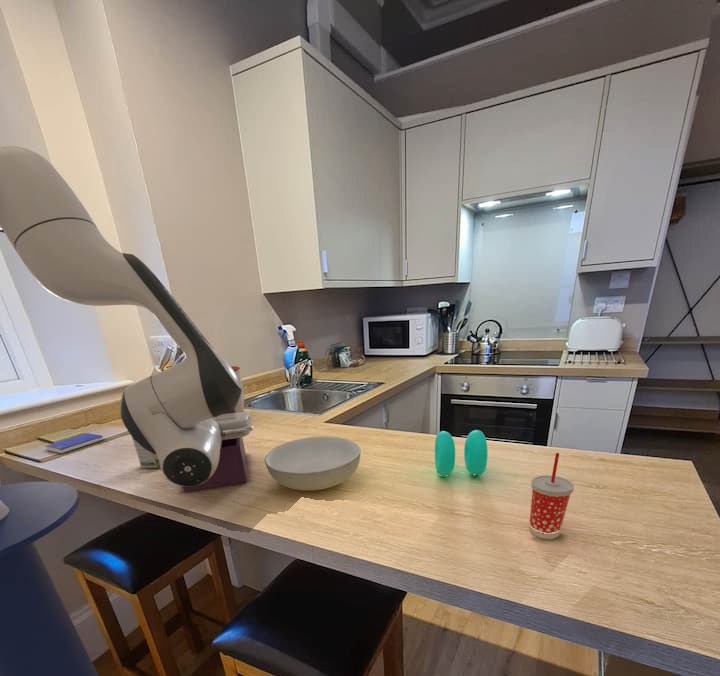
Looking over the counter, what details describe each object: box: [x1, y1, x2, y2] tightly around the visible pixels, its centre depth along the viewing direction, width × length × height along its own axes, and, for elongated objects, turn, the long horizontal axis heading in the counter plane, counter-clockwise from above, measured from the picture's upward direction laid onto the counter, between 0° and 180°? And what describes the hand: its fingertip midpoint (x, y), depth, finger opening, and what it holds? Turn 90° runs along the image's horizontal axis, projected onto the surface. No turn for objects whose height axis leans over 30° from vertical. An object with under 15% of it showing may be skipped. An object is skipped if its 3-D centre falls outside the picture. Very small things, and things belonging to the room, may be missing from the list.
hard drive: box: [45, 432, 104, 454], centre depth 121 cm, size 2×8×12 cm
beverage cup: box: [528, 452, 575, 540], centre depth 62 cm, size 6×6×14 cm
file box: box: [181, 437, 248, 493], centre depth 94 cm, size 18×14×9 cm
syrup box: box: [131, 436, 161, 469], centre depth 100 cm, size 6×6×14 cm
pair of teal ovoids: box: [434, 429, 488, 478], centre depth 85 cm, size 10×10×10 cm
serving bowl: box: [264, 436, 362, 492], centre depth 87 cm, size 21×21×7 cm
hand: (203, 418), depth 87 cm, fingers closed
